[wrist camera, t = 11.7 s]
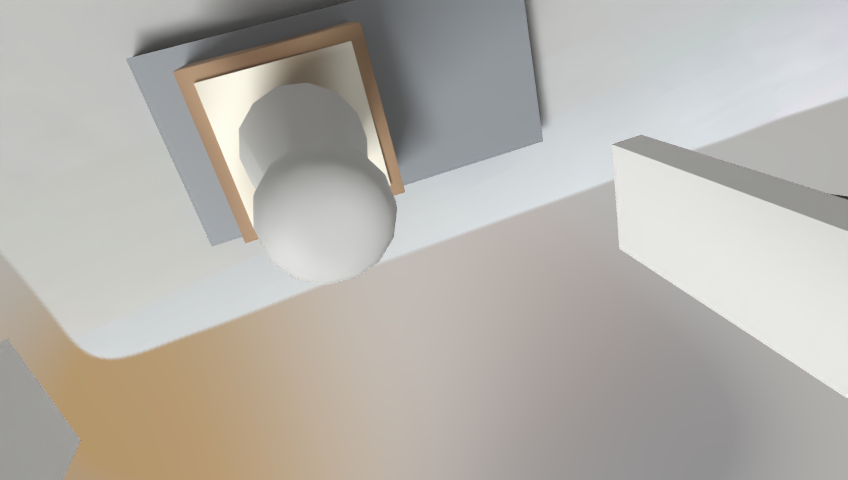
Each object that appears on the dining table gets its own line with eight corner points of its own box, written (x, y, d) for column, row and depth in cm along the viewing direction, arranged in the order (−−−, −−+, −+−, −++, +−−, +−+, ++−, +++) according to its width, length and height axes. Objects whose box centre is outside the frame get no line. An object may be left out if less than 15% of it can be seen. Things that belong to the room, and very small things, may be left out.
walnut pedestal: (348, 22, 29) (361, 22, 25) (390, 173, 33) (405, 193, 29) (184, 65, 28) (171, 72, 24) (247, 218, 32) (245, 244, 28)
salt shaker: (215, 140, 25) (173, 239, 14) (294, 51, 25) (319, 77, 13) (308, 214, 28) (338, 349, 17) (381, 134, 28) (465, 217, 16)
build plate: (507, -40, 32) (518, -43, 30) (532, 136, 36) (542, 141, 35) (132, 57, 28) (126, 58, 27) (214, 237, 33) (211, 246, 32)
